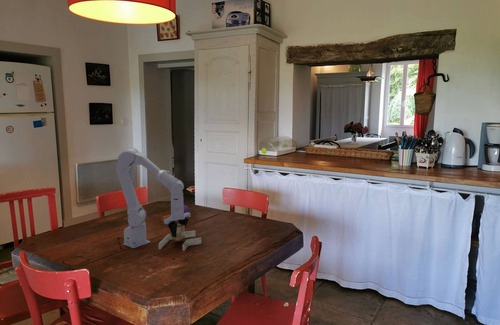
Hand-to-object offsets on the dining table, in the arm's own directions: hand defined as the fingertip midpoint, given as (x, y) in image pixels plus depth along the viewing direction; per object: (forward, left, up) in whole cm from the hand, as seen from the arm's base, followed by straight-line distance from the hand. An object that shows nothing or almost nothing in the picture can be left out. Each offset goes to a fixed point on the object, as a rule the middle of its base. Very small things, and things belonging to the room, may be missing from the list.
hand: (178, 235), depth 169 cm
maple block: (0, 0, -1) cm, 1 cm away
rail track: (0, -2, -4) cm, 4 cm away
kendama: (+26, +32, -4) cm, 41 cm away
